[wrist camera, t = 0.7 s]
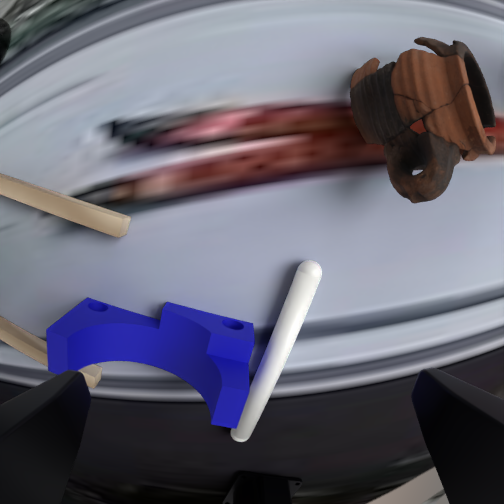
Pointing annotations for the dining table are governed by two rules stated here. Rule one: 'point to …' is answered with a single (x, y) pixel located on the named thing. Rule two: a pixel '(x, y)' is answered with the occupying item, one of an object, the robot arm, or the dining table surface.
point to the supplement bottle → (4, 37)
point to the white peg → (279, 346)
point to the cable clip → (162, 349)
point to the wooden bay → (70, 211)
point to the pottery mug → (424, 114)
